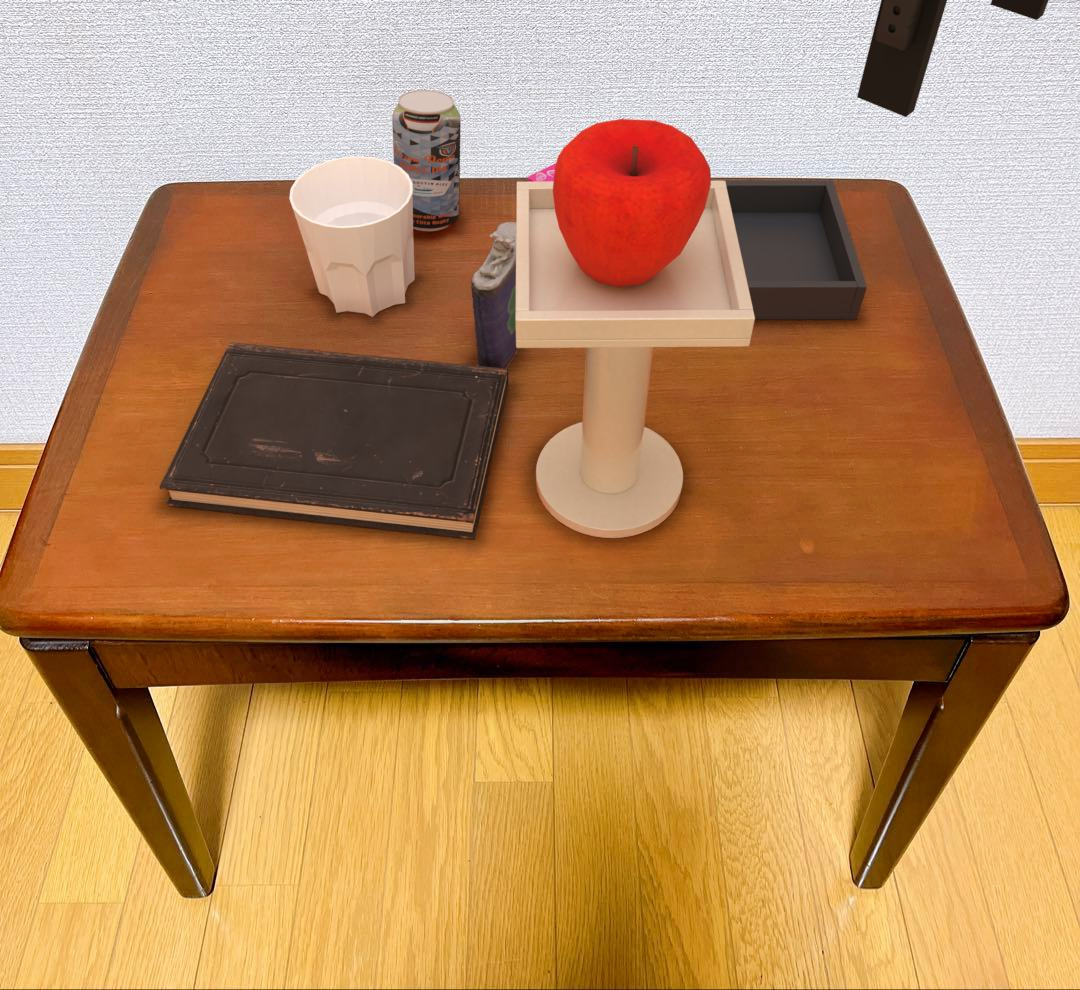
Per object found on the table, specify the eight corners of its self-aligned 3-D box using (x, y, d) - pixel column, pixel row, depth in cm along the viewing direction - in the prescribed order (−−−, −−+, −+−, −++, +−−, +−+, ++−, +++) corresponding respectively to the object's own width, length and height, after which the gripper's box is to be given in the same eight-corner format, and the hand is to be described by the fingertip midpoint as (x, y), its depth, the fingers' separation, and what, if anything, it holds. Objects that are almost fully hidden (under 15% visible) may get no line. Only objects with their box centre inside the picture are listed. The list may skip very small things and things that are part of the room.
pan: (824, 212, 98) (833, 180, 95) (856, 319, 88) (867, 286, 85) (663, 212, 98) (666, 180, 95) (677, 319, 88) (681, 287, 85)
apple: (704, 315, 58) (723, 198, 52) (550, 313, 58) (552, 196, 52) (692, 221, 64) (708, 106, 58) (552, 220, 64) (554, 104, 58)
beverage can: (388, 236, 95) (372, 118, 86) (413, 192, 100) (400, 76, 91) (452, 246, 95) (442, 128, 85) (474, 201, 99) (467, 84, 90)
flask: (502, 303, 89) (499, 198, 81) (534, 308, 89) (534, 204, 81) (472, 373, 84) (465, 269, 75) (506, 380, 83) (503, 276, 75)
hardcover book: (474, 540, 73) (473, 520, 71) (167, 506, 75) (158, 486, 73) (509, 384, 83) (508, 364, 81) (237, 358, 85) (231, 337, 83)
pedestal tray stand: (687, 416, 81) (725, 180, 64) (706, 550, 72) (755, 318, 56) (521, 417, 80) (516, 181, 64) (521, 551, 72) (515, 319, 56)
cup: (406, 329, 87) (394, 233, 79) (295, 316, 88) (272, 220, 81) (435, 258, 93) (425, 163, 86) (330, 246, 94) (312, 151, 87)
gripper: (1173, -561, 43) (1002, -43, 60) (859, -502, 32) (752, 121, 48) (1363, -549, 40) (1127, -4, 56) (1089, -478, 29) (891, 182, 45)
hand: (954, 55), depth 52 cm, fingers open, 13 cm apart
